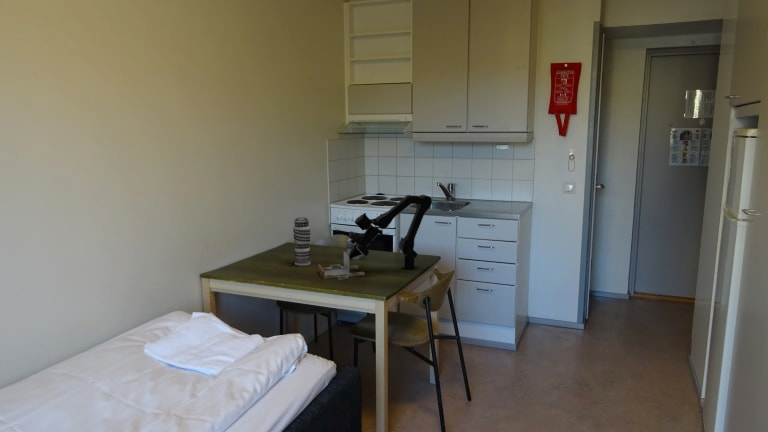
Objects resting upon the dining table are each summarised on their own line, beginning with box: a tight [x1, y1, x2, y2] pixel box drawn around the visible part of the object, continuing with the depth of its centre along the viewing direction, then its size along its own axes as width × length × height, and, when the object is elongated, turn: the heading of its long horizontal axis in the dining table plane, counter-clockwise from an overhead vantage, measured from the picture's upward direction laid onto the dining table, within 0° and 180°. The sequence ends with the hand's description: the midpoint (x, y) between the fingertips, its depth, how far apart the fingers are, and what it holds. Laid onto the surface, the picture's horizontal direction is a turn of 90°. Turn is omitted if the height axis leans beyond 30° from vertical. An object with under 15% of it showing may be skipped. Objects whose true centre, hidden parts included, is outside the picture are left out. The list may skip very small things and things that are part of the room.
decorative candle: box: [292, 216, 312, 266], centre depth 279 cm, size 9×9×25 cm
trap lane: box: [317, 263, 365, 281], centre depth 262 cm, size 21×23×4 cm
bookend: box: [324, 251, 350, 276], centre depth 261 cm, size 12×10×10 cm
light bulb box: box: [346, 238, 364, 260], centre depth 293 cm, size 11×7×11 cm, turn 168°
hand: (347, 259), depth 262 cm, fingers closed, pressing on bookend
